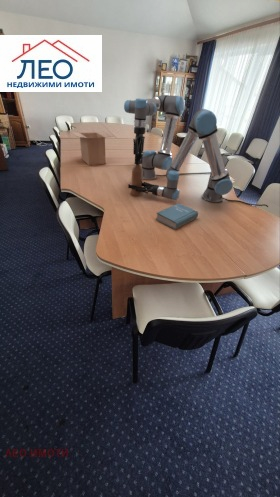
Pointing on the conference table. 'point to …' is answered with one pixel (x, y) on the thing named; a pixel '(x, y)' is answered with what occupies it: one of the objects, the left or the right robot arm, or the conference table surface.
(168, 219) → the book
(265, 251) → the conference table surface
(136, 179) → the bottle
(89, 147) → the box
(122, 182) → the conference table surface
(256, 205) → the right robot arm
